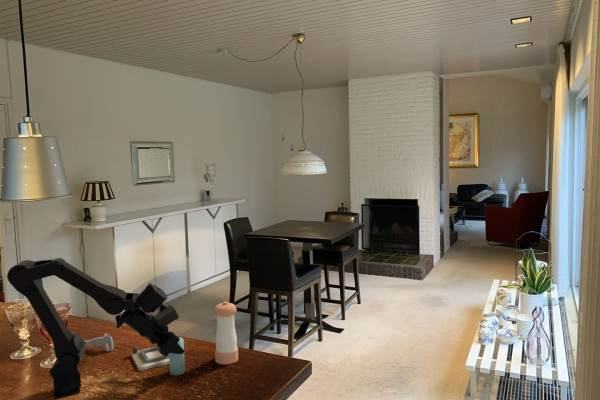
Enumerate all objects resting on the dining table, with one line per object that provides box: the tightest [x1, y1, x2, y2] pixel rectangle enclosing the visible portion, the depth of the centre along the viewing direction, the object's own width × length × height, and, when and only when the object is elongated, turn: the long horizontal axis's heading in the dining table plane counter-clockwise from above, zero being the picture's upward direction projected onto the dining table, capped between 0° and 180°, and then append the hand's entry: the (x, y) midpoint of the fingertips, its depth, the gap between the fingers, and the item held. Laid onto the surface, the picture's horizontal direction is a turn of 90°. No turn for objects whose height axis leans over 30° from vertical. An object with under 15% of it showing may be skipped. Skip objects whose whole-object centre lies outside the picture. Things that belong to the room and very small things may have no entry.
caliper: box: [83, 333, 115, 352], centre depth 159 cm, size 20×1×6 cm, turn 79°
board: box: [130, 345, 170, 372], centre depth 152 cm, size 14×13×3 cm
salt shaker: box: [213, 300, 239, 365], centre depth 149 cm, size 7×7×19 cm
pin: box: [168, 336, 186, 376], centre depth 142 cm, size 4×4×10 cm
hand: (180, 349), depth 142 cm, fingers closed on pin, 4 cm apart
